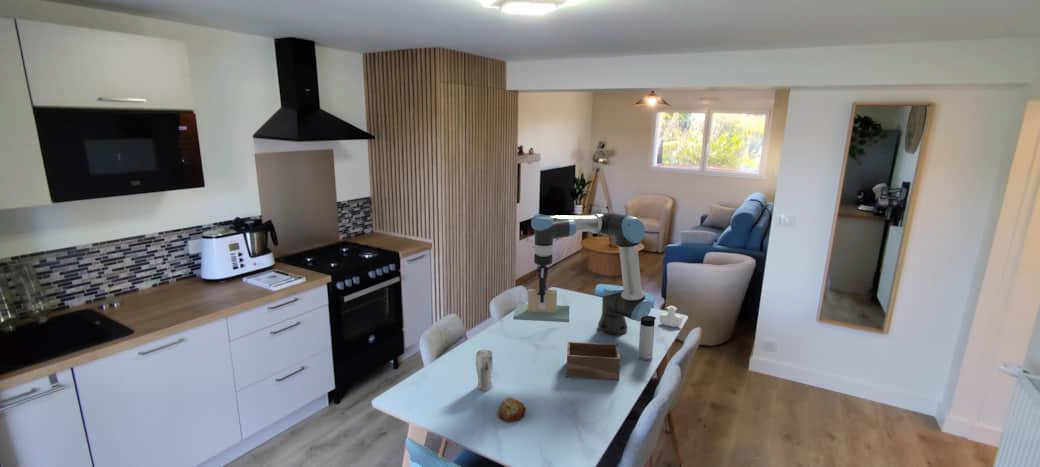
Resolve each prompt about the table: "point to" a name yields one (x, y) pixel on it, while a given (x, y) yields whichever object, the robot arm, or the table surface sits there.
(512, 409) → the bread roll
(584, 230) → the robot arm
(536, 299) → the lid
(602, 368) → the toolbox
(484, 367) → the beer glass
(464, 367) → the table surface
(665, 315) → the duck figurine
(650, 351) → the travel mug
